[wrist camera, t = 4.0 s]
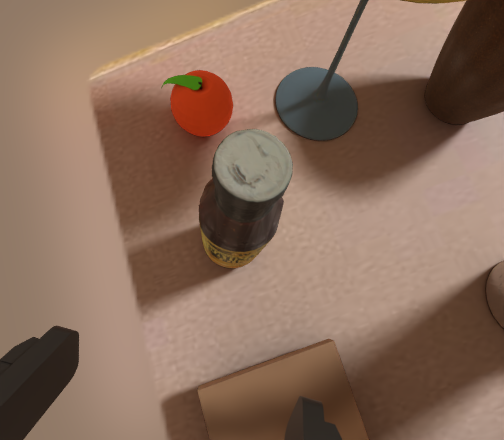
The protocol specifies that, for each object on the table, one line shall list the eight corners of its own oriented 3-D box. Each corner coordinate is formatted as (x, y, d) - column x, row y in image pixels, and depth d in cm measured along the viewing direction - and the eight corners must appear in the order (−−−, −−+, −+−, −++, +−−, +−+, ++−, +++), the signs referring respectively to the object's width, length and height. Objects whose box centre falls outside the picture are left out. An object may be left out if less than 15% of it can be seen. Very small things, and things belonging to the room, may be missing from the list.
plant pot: (375, 81, 41) (464, -50, 26) (452, 40, 44) (573, -99, 29) (445, 169, 39) (592, 82, 23) (522, 119, 42) (697, 12, 26)
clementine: (159, 137, 36) (144, 99, 30) (176, 89, 38) (166, 43, 31) (224, 153, 37) (224, 119, 30) (238, 105, 38) (241, 63, 32)
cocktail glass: (217, 100, 38) (205, -239, 14) (309, 24, 43) (418, -332, 19) (324, 196, 36) (521, -10, 12) (410, 106, 41) (679, -176, 16)
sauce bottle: (206, 273, 33) (179, 234, 14) (201, 217, 34) (171, 113, 15) (266, 265, 34) (319, 220, 14) (258, 211, 35) (298, 105, 16)
